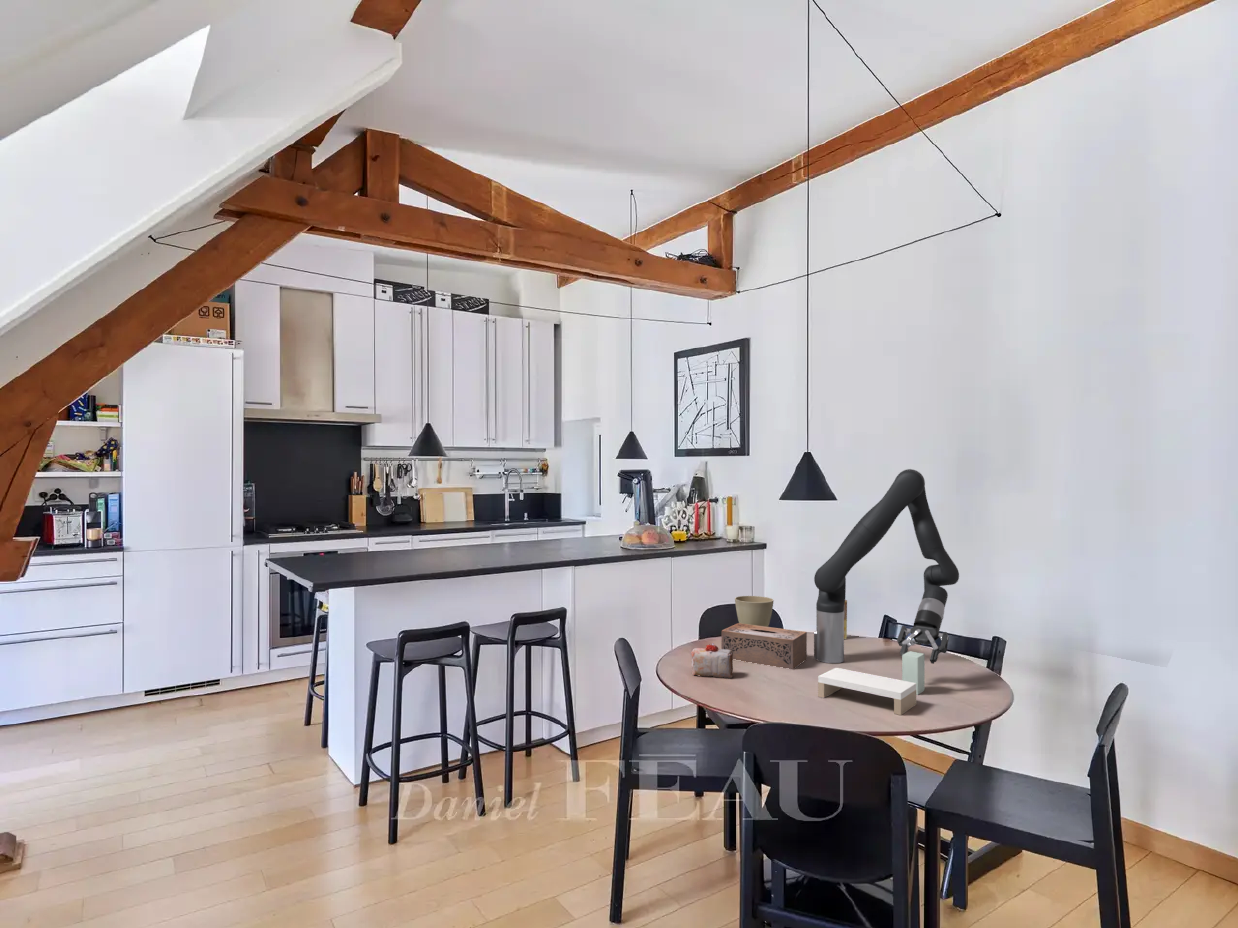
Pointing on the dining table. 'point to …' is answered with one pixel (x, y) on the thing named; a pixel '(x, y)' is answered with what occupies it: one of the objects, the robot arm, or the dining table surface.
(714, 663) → the food item
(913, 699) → the shelf
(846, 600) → the candy box
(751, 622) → the plant pot
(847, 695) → the dining table surface
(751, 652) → the tissue box cover
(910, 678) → the pale green rectangular block
